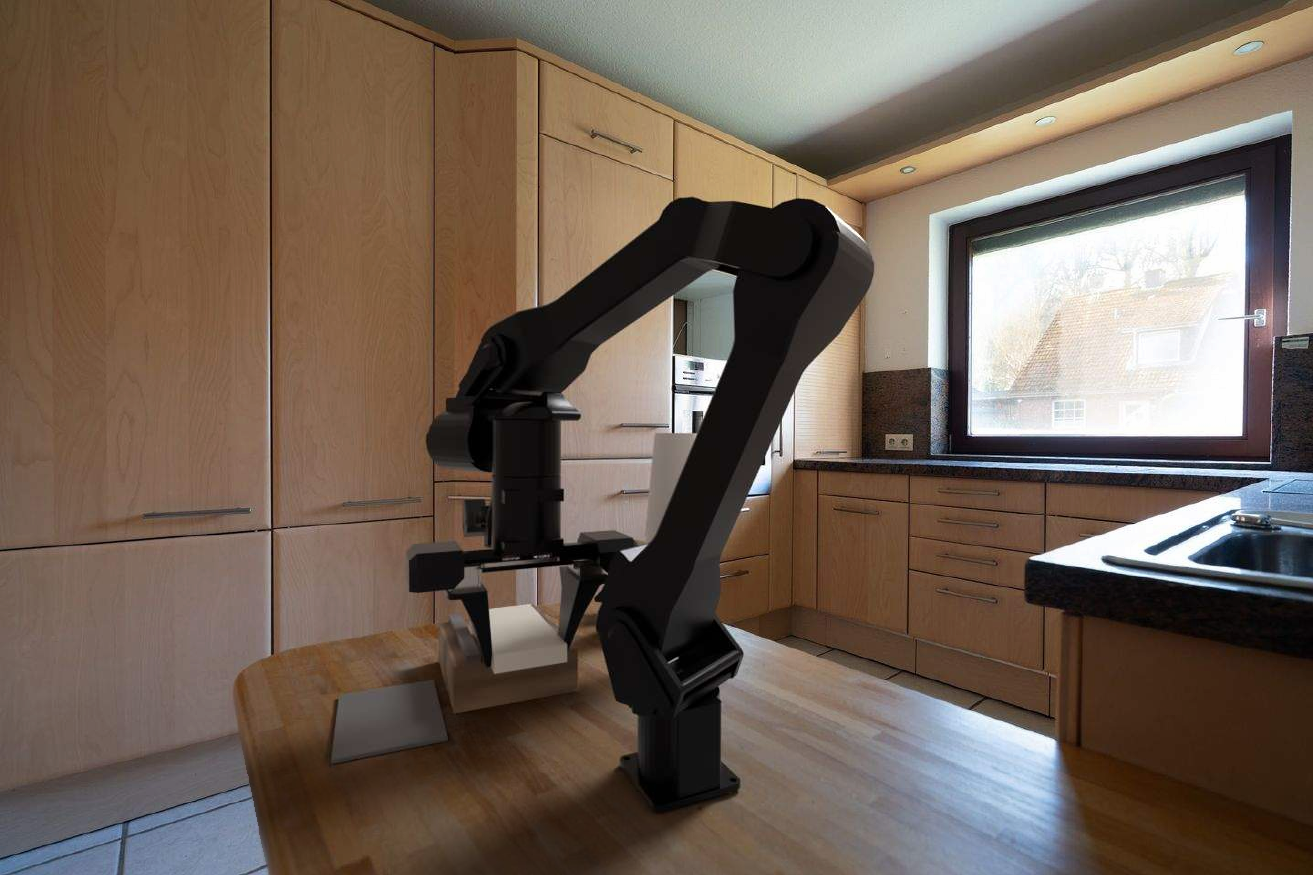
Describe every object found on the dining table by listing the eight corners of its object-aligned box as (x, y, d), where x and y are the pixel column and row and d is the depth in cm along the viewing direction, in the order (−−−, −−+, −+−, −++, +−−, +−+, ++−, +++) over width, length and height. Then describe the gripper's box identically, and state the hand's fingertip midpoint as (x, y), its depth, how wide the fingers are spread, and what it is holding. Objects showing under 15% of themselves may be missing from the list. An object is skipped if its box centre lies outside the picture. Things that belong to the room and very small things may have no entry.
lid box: (577, 690, 56) (578, 639, 56) (453, 713, 52) (454, 657, 52) (542, 645, 68) (542, 603, 68) (438, 661, 63) (438, 615, 63)
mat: (447, 740, 47) (447, 736, 47) (331, 763, 44) (331, 759, 44) (433, 682, 58) (433, 679, 58) (339, 697, 55) (339, 694, 55)
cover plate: (567, 661, 51) (567, 644, 51) (494, 673, 48) (494, 655, 48) (530, 618, 63) (530, 604, 63) (469, 626, 60) (469, 611, 60)
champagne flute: (649, 672, 61) (650, 433, 61) (640, 648, 67) (641, 432, 67) (714, 668, 62) (715, 433, 62) (699, 645, 68) (700, 433, 68)
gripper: (598, 467, 62) (598, 618, 63) (402, 472, 54) (402, 645, 55) (642, 474, 52) (641, 655, 52) (409, 481, 44) (409, 693, 45)
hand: (526, 659), depth 51 cm, fingers closed on cover plate, 6 cm apart
